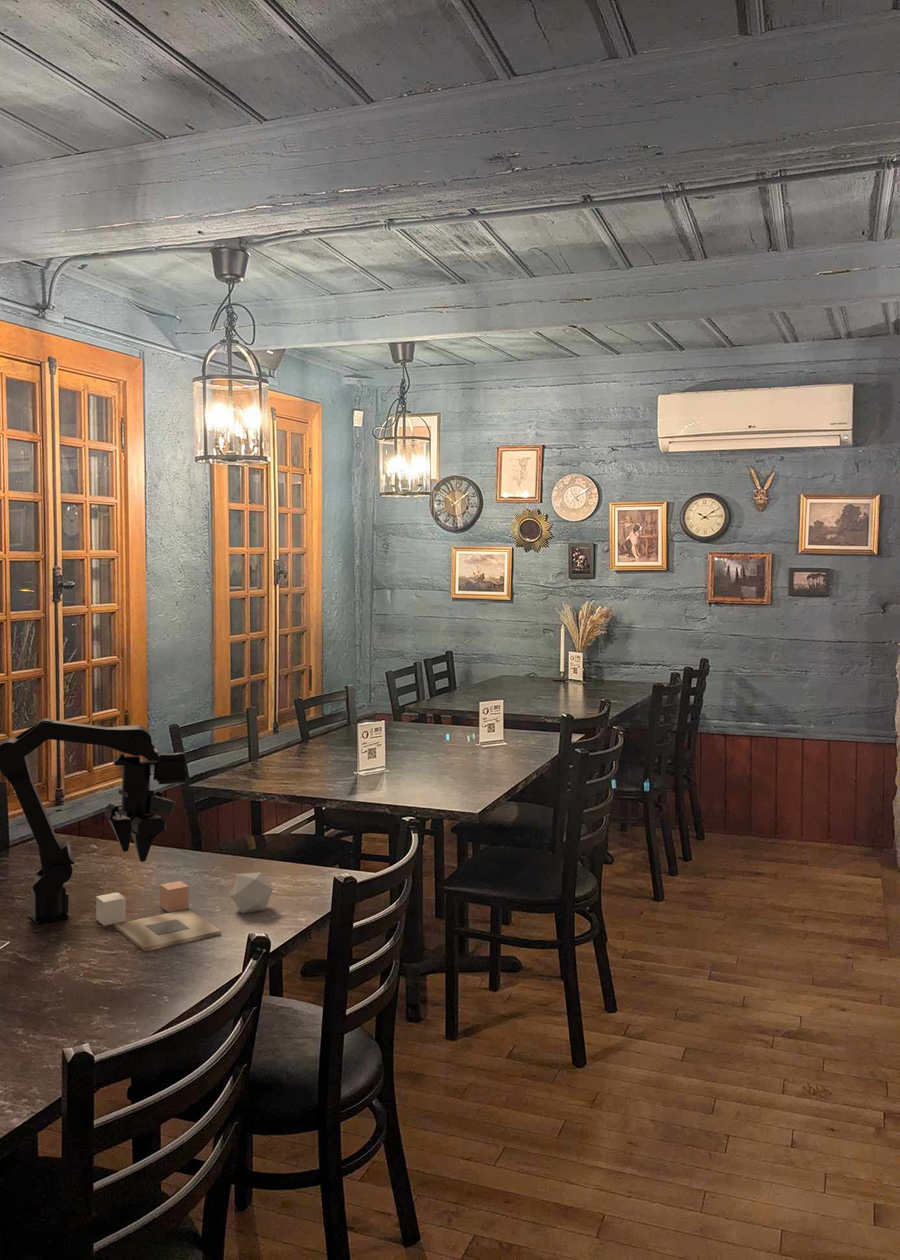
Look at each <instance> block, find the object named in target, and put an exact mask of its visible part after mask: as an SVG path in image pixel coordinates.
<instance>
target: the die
mask: <svg viewBox="0 0 900 1260" xmlns="http://www.w3.org/2000/svg"><path fill="white" fill-rule="evenodd" d="M273 890H274V888H273V886H271V884H270V882H268V880H267V878H266V876H265V875H264V874H263V872H260V871H259V872H251V873H243V874H238V875H237V877H236V881H235V883H234V886H233V888H232V891H231V892H230V895H229V896H230V897H231V899H232V901H233V902H234V904H235V906H236V907H237V908H238V910H239V911H240V913H241V914H249V913H254V912H255V911H256V912H261V911H266V909H267V905H268V903H269V900H270V899H271V895H272V893H273Z"/></svg>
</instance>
